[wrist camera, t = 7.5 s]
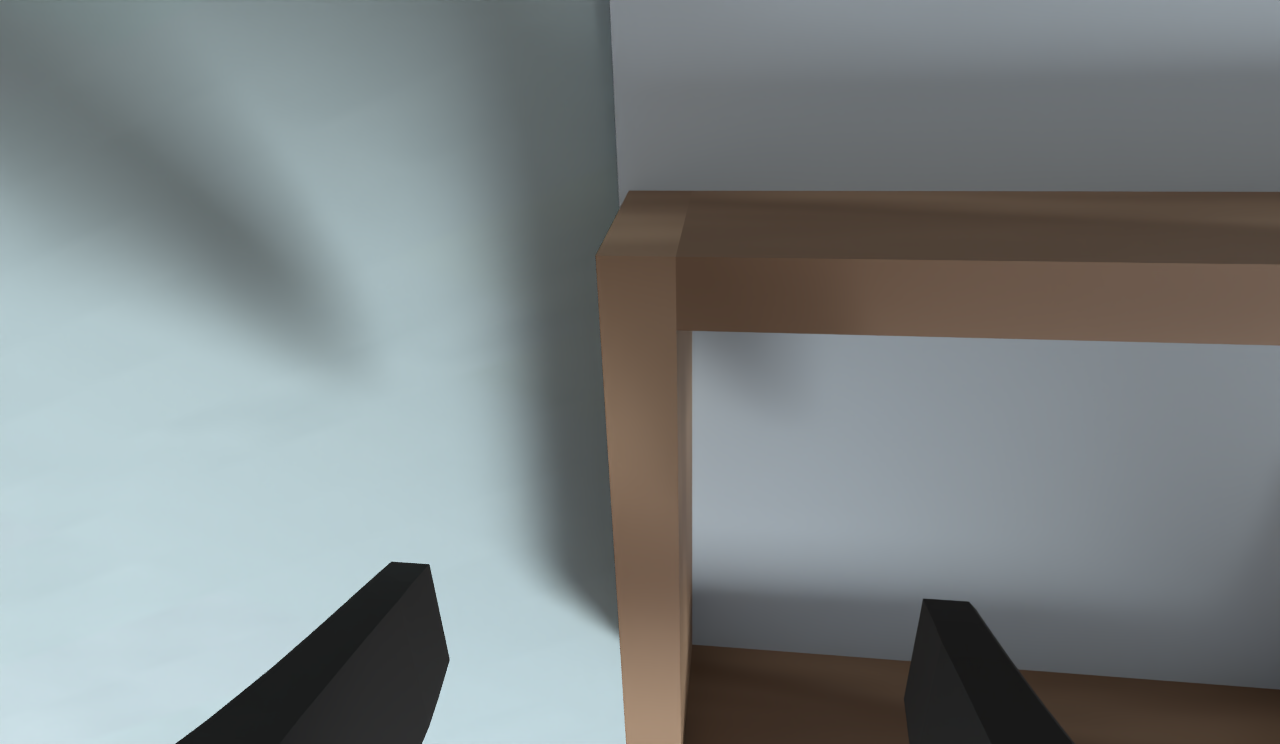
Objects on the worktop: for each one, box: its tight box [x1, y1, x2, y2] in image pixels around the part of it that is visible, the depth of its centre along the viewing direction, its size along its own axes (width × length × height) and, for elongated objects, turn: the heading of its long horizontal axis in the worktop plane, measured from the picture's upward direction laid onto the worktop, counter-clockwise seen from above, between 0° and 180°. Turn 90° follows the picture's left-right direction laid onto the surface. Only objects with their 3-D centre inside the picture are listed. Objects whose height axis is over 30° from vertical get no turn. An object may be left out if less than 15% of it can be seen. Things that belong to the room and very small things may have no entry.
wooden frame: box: [595, 191, 1280, 744], centre depth 13 cm, size 11×14×3 cm
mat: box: [610, 0, 1280, 689], centre depth 14 cm, size 18×15×1 cm
